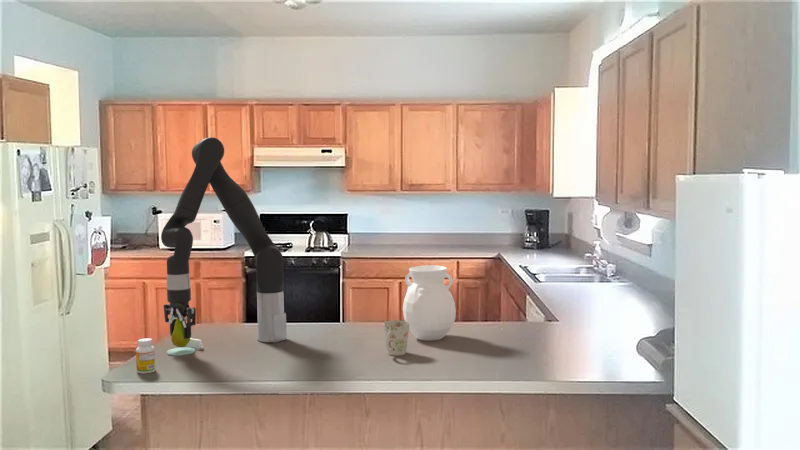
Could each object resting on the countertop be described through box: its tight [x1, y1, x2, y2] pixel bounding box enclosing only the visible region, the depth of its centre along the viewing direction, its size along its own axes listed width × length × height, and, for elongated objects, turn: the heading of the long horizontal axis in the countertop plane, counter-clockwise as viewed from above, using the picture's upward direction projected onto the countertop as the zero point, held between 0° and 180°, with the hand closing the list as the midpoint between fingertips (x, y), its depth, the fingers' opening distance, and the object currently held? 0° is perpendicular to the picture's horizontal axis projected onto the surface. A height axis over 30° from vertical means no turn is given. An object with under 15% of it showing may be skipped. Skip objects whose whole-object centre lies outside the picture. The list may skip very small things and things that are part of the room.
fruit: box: [170, 317, 190, 348], centre depth 250 cm, size 6×6×12 cm
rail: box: [185, 337, 205, 351], centre depth 257 cm, size 10×2×3 cm, turn 54°
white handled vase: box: [402, 264, 457, 342], centre depth 266 cm, size 19×18×25 cm
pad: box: [166, 347, 196, 357], centre depth 250 cm, size 9×9×1 cm
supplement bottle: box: [135, 337, 156, 375], centre depth 227 cm, size 5×5×10 cm
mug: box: [383, 320, 410, 357], centre depth 243 cm, size 8×13×10 cm, turn 161°
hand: (180, 336), depth 250 cm, fingers closed on fruit, 6 cm apart
